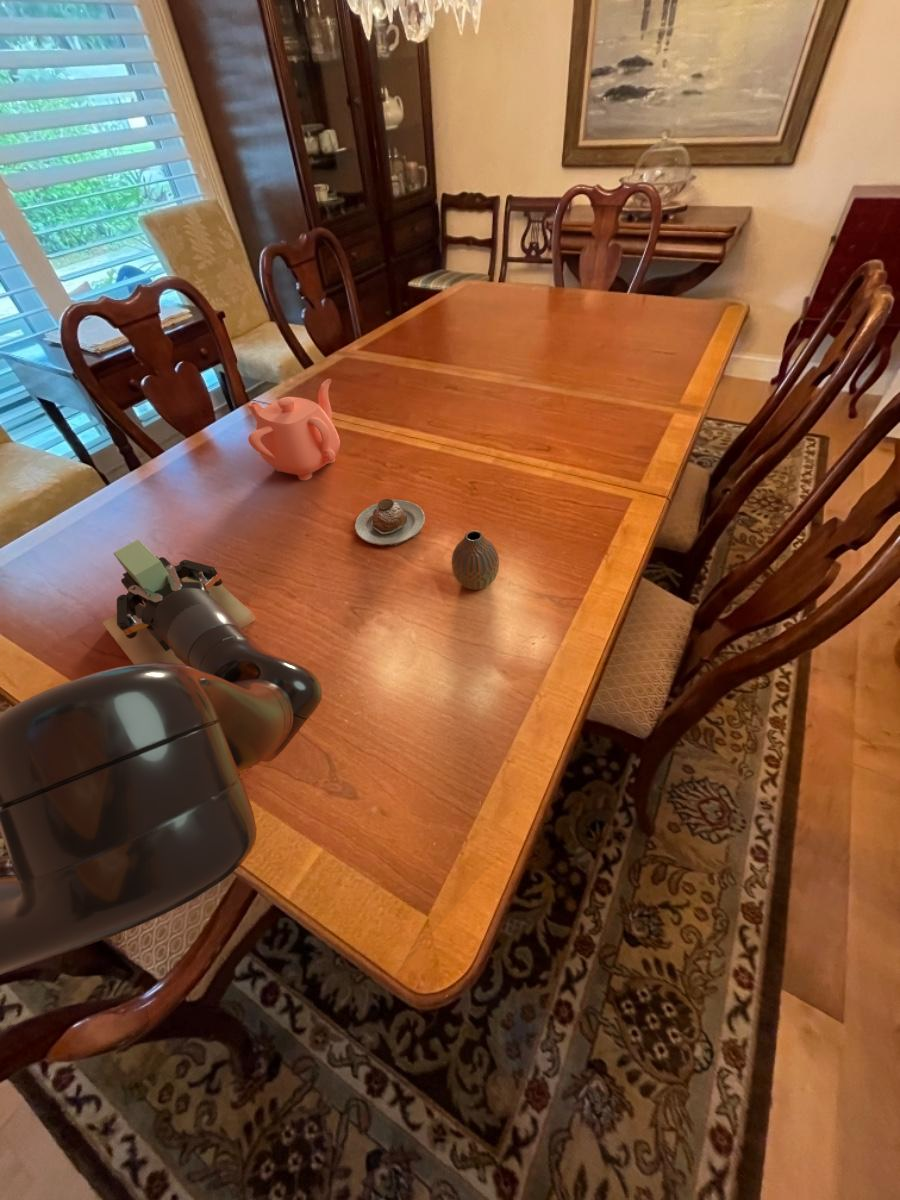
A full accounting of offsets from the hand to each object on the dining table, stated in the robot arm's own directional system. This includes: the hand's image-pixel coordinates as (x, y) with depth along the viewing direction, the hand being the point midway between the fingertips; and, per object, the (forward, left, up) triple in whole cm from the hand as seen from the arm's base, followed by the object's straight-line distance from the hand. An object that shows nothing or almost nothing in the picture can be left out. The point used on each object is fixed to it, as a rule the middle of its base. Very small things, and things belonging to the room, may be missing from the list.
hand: (142, 570), depth 74 cm
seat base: (0, -3, -9) cm, 10 cm away
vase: (+39, -24, -9) cm, 47 cm away
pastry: (+36, -4, -9) cm, 38 cm away
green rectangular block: (+1, -3, -7) cm, 8 cm away
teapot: (+34, +26, -9) cm, 44 cm away
